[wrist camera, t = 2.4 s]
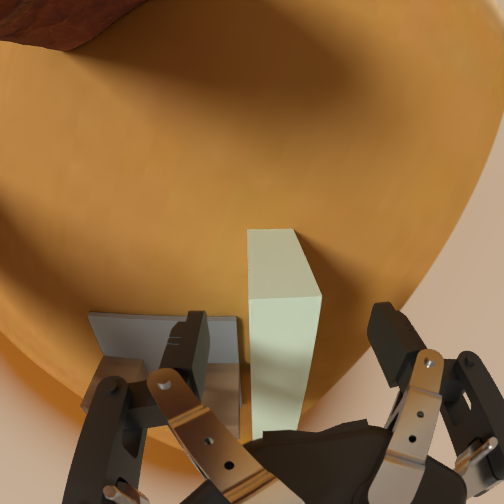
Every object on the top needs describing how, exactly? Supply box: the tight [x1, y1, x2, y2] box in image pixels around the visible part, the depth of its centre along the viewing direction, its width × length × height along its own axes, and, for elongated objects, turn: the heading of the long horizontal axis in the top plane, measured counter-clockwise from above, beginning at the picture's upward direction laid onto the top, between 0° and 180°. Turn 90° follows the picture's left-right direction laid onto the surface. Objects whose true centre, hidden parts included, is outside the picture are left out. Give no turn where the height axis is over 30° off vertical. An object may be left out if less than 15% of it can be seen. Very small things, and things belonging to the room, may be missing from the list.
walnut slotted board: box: [80, 355, 240, 439], centre depth 20 cm, size 13×2×6 cm, turn 91°
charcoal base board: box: [87, 312, 242, 407], centre depth 23 cm, size 13×12×1 cm
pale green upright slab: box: [247, 229, 322, 440], centre depth 18 cm, size 3×14×8 cm, turn 1°
